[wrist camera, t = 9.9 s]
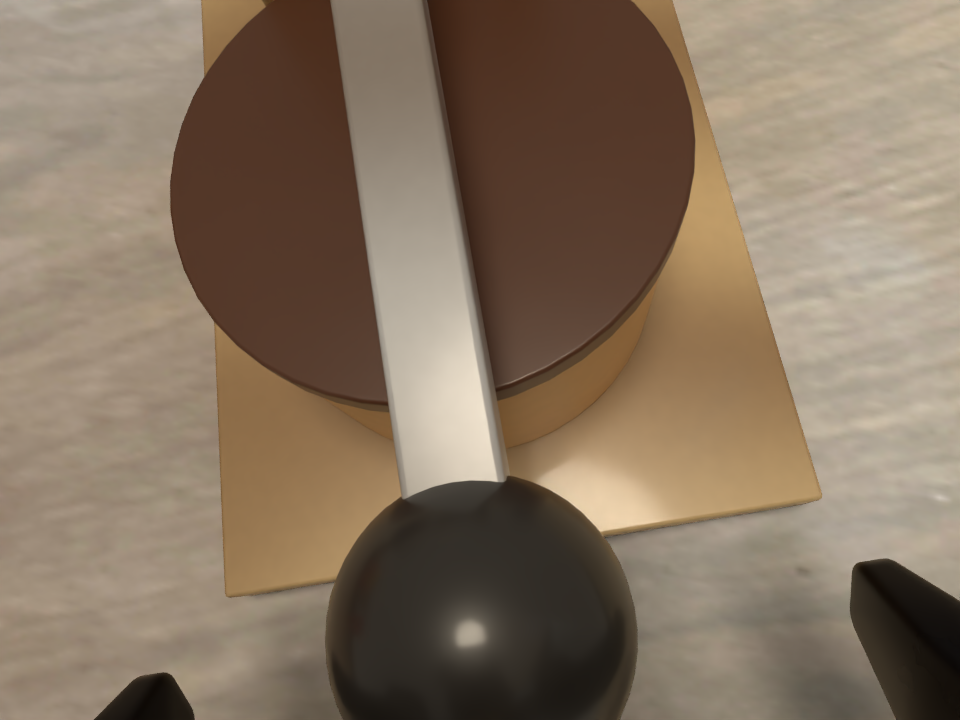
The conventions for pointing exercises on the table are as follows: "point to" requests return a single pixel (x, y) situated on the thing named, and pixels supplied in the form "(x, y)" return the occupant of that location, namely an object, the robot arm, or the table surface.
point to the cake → (484, 190)
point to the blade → (453, 451)
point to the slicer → (559, 454)
